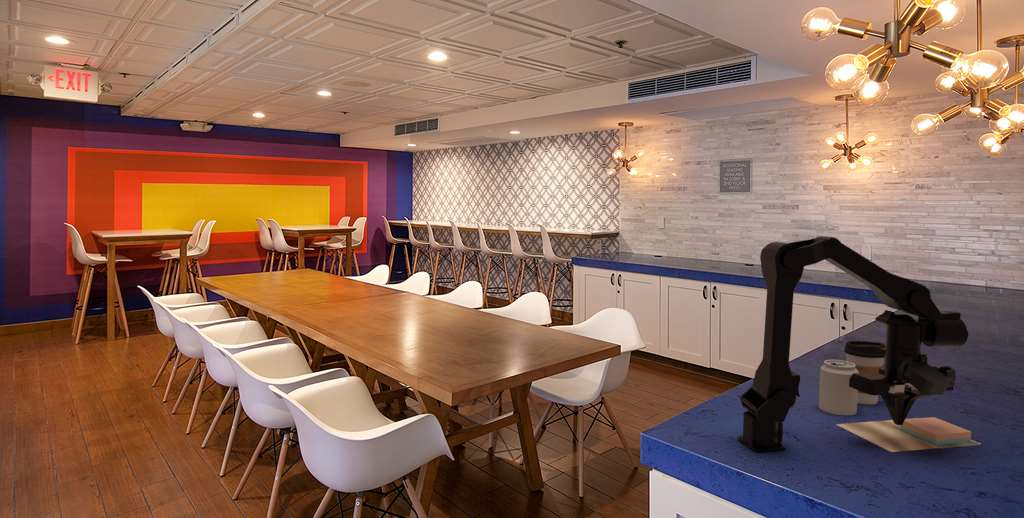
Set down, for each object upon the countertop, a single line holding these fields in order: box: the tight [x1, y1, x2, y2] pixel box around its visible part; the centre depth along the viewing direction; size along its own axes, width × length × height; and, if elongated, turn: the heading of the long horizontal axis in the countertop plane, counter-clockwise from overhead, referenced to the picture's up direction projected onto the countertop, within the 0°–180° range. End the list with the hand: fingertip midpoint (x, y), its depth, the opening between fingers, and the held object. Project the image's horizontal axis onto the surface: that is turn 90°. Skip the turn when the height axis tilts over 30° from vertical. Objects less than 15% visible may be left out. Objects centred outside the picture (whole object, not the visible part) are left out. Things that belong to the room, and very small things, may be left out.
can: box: [818, 359, 859, 416], centre depth 130 cm, size 8×8×12 cm
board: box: [836, 417, 982, 453], centre depth 116 cm, size 20×14×1 cm
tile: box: [900, 416, 972, 445], centre depth 115 cm, size 2×8×8 cm
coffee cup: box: [843, 340, 886, 405], centre depth 136 cm, size 8×8×15 cm
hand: (898, 424), depth 113 cm, fingers closed
